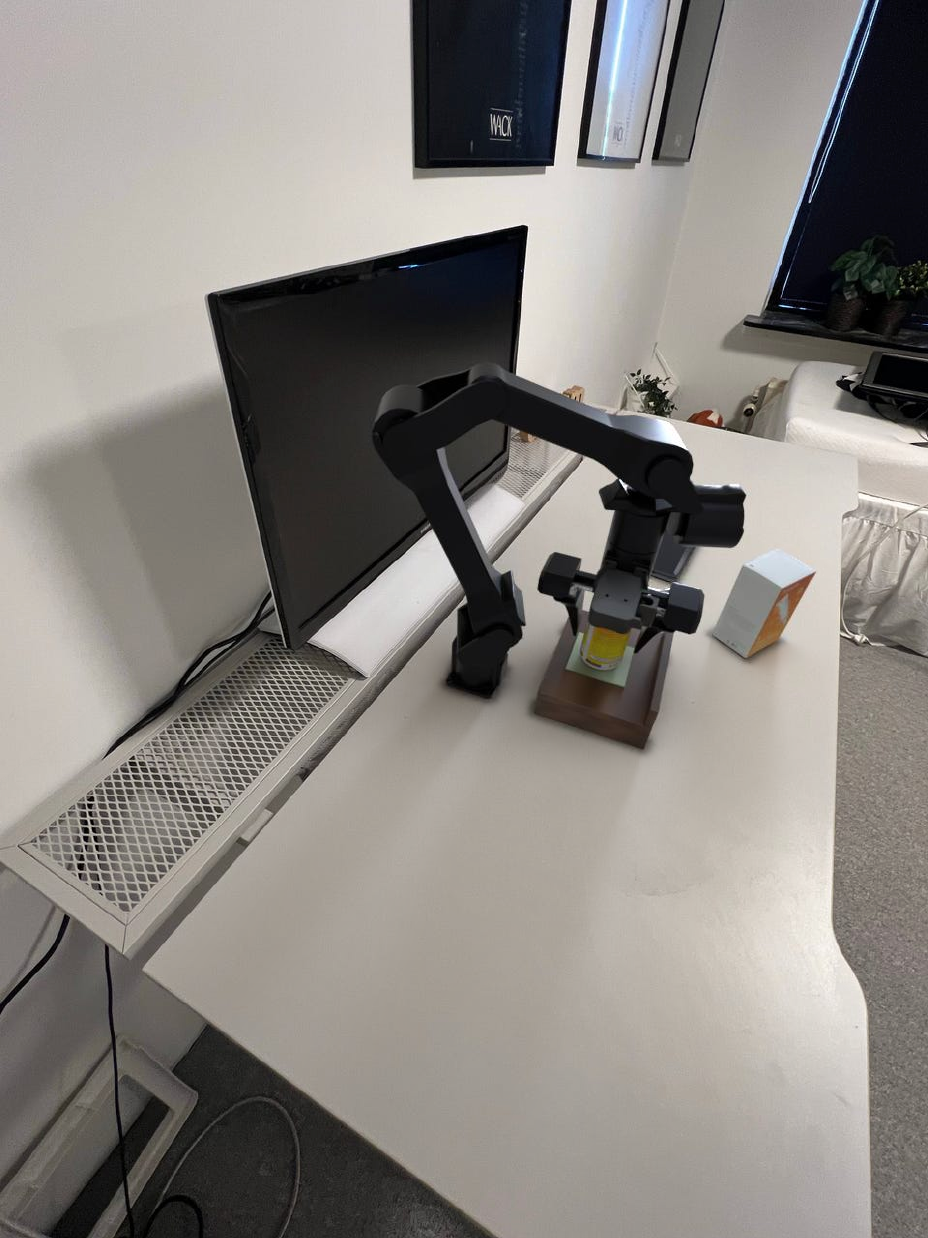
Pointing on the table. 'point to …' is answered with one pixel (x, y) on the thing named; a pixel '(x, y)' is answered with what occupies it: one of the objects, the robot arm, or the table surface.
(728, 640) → the small box
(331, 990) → the table surface
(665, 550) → the phone
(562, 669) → the wooden coaster tray
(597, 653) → the supplement bottle
